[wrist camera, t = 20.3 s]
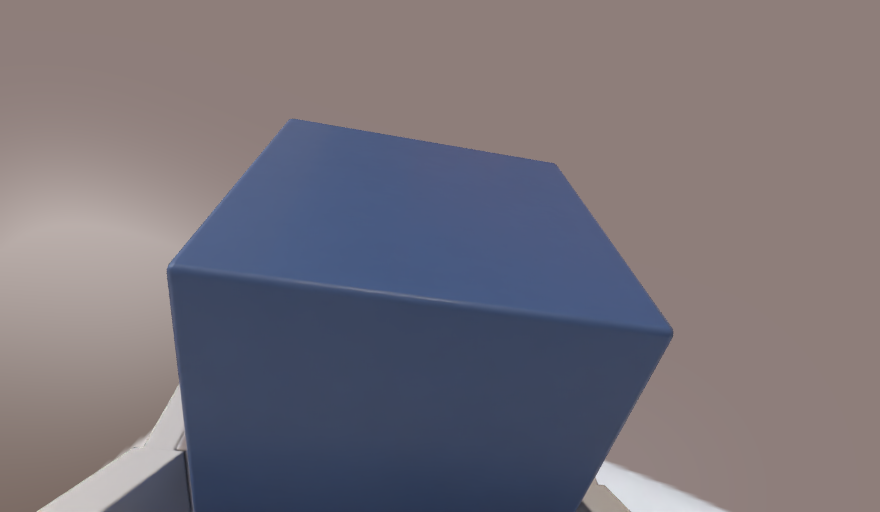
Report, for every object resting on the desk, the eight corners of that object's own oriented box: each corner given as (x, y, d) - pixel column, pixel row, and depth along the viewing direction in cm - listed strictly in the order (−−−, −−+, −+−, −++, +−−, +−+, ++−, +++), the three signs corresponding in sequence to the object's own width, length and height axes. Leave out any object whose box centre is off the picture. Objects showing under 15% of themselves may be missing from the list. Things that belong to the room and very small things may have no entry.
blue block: (440, 523, 15) (556, 162, 9) (449, 742, 11) (679, 332, 5) (276, 512, 15) (289, 115, 9) (218, 741, 10) (160, 266, 4)
